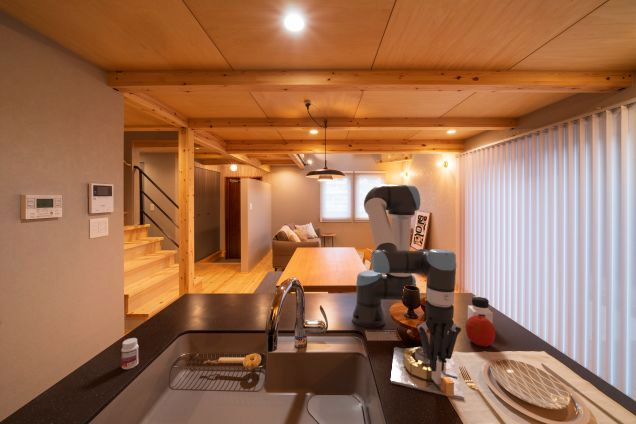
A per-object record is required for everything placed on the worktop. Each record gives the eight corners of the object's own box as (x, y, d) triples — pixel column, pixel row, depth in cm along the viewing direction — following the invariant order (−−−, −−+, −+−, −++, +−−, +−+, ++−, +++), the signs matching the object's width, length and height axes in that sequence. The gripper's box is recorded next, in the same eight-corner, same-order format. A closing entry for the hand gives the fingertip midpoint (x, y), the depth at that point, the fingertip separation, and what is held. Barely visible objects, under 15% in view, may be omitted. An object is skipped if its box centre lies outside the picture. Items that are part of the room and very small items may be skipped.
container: (492, 330, 114) (493, 301, 113) (473, 328, 115) (474, 300, 115) (485, 322, 121) (485, 295, 121) (467, 321, 123) (467, 294, 122)
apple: (459, 338, 106) (460, 311, 106) (479, 336, 109) (480, 309, 108) (479, 352, 96) (480, 322, 96) (501, 349, 99) (502, 319, 98)
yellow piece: (398, 357, 91) (398, 346, 91) (430, 354, 92) (430, 343, 92) (429, 398, 71) (430, 384, 71) (469, 393, 73) (470, 380, 73)
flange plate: (394, 348, 98) (394, 331, 98) (452, 359, 91) (453, 341, 91) (390, 382, 79) (391, 361, 79) (463, 399, 73) (464, 376, 72)
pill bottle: (127, 361, 89) (127, 337, 89) (141, 360, 89) (141, 337, 89) (117, 370, 84) (117, 345, 84) (133, 369, 85) (132, 344, 84)
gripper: (424, 307, 71) (421, 390, 72) (468, 307, 72) (464, 389, 73) (412, 297, 79) (409, 373, 79) (452, 297, 80) (449, 372, 80)
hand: (436, 380), depth 76 cm, fingers closed
